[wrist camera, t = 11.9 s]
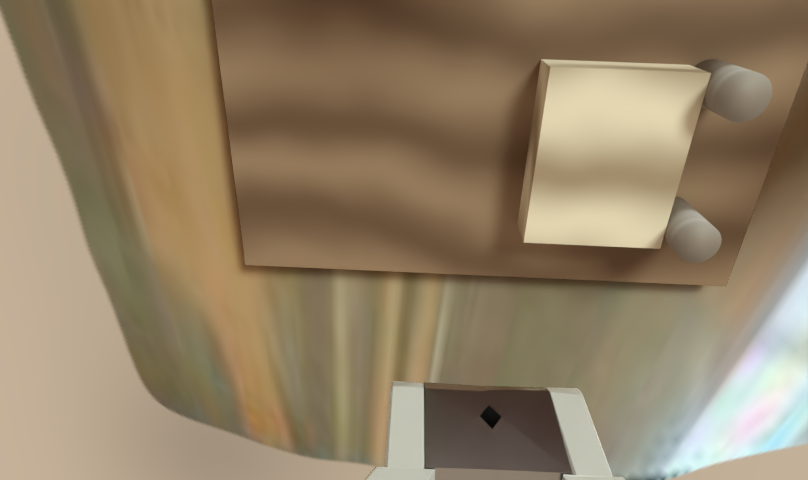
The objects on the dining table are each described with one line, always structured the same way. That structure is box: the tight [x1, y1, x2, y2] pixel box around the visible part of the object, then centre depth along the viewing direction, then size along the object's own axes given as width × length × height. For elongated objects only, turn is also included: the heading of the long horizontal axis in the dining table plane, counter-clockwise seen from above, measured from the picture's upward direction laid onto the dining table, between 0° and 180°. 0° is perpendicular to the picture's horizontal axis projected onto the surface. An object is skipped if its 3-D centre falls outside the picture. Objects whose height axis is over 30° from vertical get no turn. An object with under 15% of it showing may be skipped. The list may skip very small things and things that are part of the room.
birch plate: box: [517, 59, 711, 249], centre depth 30 cm, size 10×8×2 cm
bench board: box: [211, 0, 808, 286], centre depth 30 cm, size 18×32×6 cm, turn 88°
